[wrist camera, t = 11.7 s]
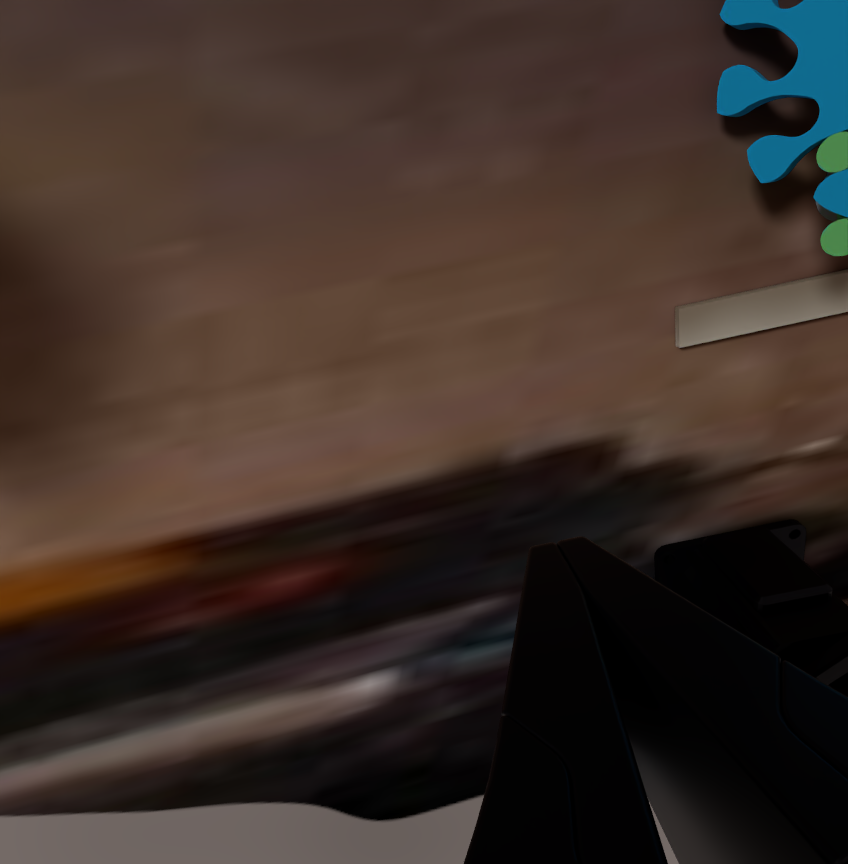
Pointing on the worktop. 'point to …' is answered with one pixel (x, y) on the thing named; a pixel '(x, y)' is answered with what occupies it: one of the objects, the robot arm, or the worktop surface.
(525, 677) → the robot arm
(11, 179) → the worktop surface
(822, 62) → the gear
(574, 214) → the worktop surface
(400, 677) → the worktop surface
